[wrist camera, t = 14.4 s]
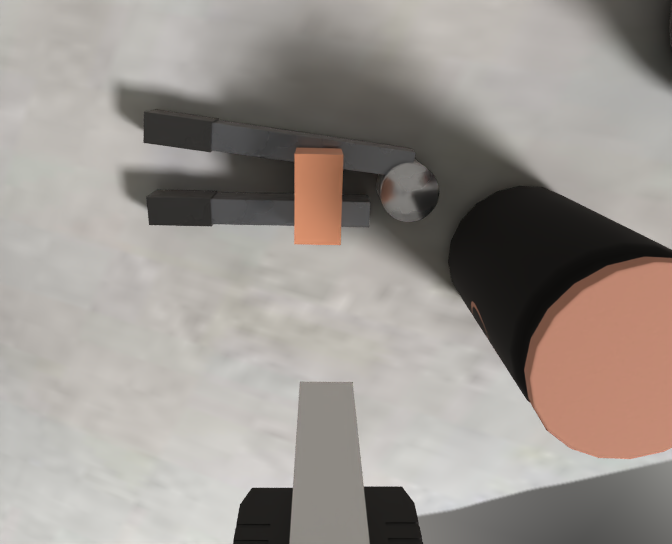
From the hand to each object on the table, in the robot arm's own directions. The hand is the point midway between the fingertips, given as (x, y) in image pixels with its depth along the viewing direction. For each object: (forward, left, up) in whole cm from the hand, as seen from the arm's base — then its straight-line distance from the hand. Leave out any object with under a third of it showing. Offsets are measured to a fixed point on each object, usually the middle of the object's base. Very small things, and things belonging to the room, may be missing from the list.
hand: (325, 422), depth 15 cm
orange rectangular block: (0, +2, -23) cm, 23 cm away
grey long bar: (-2, +3, -26) cm, 26 cm away
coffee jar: (+15, -3, -27) cm, 31 cm away
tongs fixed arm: (-4, 0, -26) cm, 27 cm away
